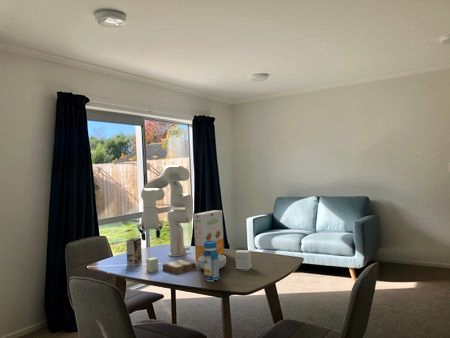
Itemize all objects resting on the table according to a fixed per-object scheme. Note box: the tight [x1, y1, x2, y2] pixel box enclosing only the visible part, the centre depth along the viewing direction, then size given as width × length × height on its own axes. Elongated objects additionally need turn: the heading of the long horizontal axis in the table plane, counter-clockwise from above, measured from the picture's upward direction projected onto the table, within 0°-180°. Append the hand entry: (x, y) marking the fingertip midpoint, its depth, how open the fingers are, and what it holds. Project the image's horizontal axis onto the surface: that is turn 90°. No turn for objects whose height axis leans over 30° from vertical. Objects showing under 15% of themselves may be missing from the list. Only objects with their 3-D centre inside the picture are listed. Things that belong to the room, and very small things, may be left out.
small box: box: [234, 249, 252, 270], centre depth 212 cm, size 8×6×10 cm
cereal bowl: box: [197, 254, 227, 270], centre depth 215 cm, size 17×17×7 cm
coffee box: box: [125, 237, 143, 267], centre depth 235 cm, size 9×6×16 cm
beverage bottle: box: [203, 241, 220, 282], centre depth 195 cm, size 8×8×20 cm
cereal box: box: [193, 209, 225, 261], centre depth 246 cm, size 22×6×30 cm, turn 143°
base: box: [162, 259, 197, 275], centre depth 217 cm, size 14×14×4 cm
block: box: [145, 256, 159, 273], centre depth 219 cm, size 5×5×7 cm
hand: (151, 238), depth 218 cm, fingers open, 9 cm apart
